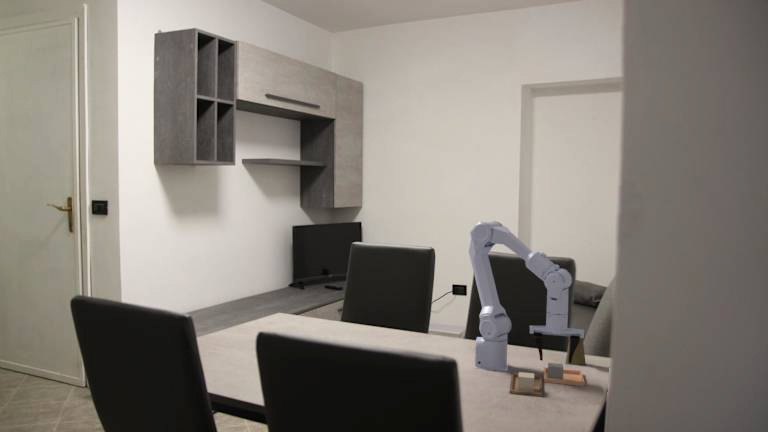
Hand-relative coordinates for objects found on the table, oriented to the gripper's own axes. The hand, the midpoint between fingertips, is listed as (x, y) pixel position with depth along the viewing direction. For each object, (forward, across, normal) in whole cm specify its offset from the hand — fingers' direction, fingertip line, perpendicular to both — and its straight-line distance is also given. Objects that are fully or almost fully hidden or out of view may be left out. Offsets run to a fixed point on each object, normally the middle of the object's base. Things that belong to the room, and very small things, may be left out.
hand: (555, 360), depth 156 cm
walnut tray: (+6, -8, -8) cm, 13 cm away
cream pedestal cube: (+5, -8, -12) cm, 15 cm away
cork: (+6, +7, +19) cm, 21 cm away
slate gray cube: (+5, 0, 0) cm, 5 cm away
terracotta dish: (+6, +2, +2) cm, 6 cm away
